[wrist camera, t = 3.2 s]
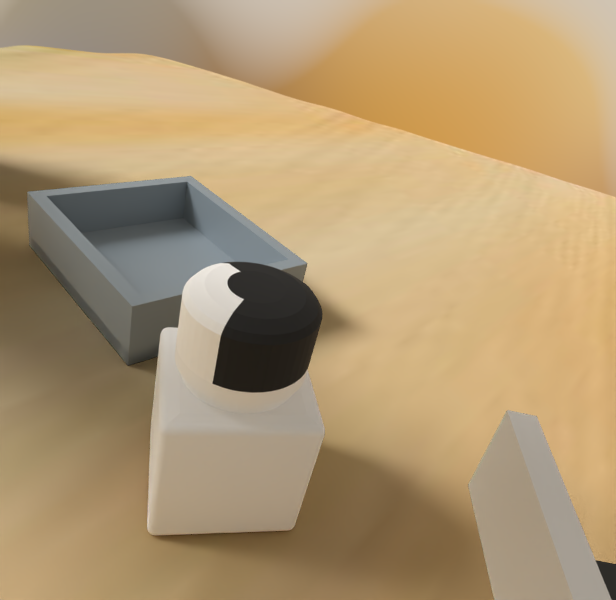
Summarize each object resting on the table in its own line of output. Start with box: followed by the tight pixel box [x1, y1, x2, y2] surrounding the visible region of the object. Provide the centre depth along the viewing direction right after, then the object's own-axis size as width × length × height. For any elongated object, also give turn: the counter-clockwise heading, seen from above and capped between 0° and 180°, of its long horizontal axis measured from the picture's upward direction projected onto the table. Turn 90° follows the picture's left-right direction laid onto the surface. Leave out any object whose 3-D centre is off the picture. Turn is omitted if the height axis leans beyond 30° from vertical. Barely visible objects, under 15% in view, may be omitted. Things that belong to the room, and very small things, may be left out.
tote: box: [27, 176, 307, 365], centre depth 44 cm, size 16×14×4 cm
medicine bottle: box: [147, 262, 325, 535], centre depth 28 cm, size 7×7×12 cm
